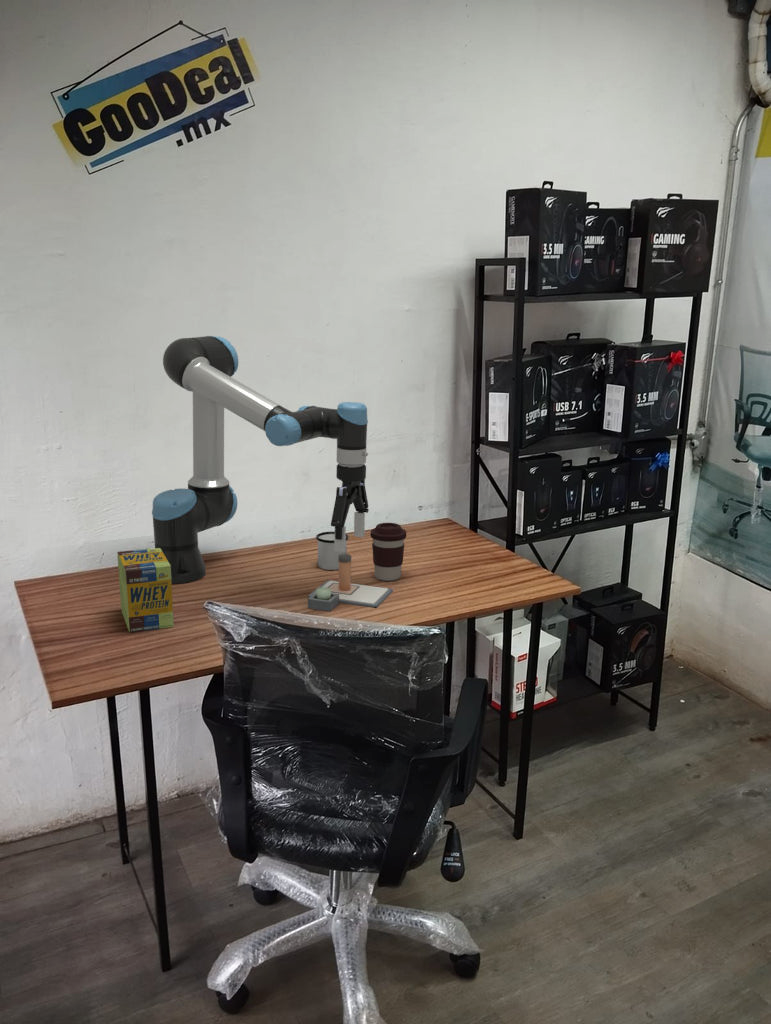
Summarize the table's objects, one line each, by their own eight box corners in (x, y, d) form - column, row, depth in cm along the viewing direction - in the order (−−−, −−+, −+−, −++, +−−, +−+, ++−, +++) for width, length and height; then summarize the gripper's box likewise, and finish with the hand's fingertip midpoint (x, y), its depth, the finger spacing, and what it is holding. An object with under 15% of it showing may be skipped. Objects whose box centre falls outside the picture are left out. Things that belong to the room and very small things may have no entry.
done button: (314, 602, 214) (314, 591, 213) (320, 597, 217) (320, 586, 216) (327, 604, 213) (327, 593, 212) (333, 599, 216) (333, 588, 215)
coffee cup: (401, 584, 231) (403, 531, 227) (366, 581, 233) (367, 529, 229) (408, 572, 241) (409, 522, 237) (374, 570, 243) (374, 519, 239)
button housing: (308, 608, 213) (308, 598, 213) (317, 600, 219) (317, 591, 218) (330, 611, 212) (330, 602, 211) (339, 603, 217) (339, 594, 216)
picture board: (307, 598, 220) (307, 594, 220) (327, 582, 232) (327, 578, 232) (376, 607, 214) (376, 604, 214) (393, 591, 226) (393, 587, 226)
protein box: (129, 633, 197) (124, 570, 193) (120, 610, 210) (116, 551, 206) (174, 627, 201) (171, 565, 197) (163, 604, 214) (160, 546, 210)
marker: (336, 590, 223) (336, 557, 221) (340, 586, 227) (340, 553, 224) (348, 591, 223) (349, 558, 220) (352, 587, 226) (352, 554, 224)
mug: (352, 569, 243) (352, 539, 240) (320, 572, 240) (320, 542, 237) (340, 556, 254) (340, 527, 251) (310, 559, 251) (309, 530, 248)
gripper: (346, 475, 203) (345, 559, 208) (381, 456, 225) (379, 532, 231) (318, 472, 205) (317, 555, 211) (355, 453, 228) (353, 528, 233)
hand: (349, 543), depth 221 cm, fingers open, 13 cm apart
